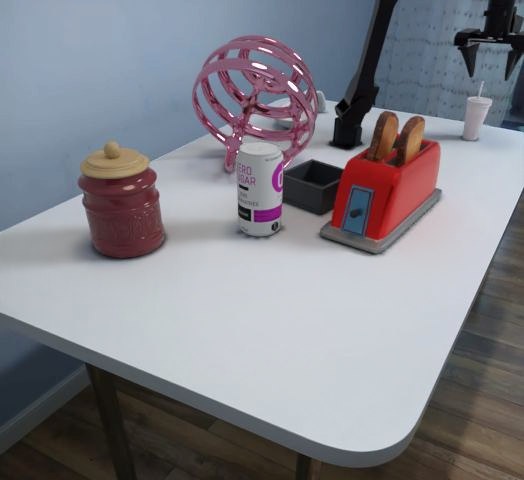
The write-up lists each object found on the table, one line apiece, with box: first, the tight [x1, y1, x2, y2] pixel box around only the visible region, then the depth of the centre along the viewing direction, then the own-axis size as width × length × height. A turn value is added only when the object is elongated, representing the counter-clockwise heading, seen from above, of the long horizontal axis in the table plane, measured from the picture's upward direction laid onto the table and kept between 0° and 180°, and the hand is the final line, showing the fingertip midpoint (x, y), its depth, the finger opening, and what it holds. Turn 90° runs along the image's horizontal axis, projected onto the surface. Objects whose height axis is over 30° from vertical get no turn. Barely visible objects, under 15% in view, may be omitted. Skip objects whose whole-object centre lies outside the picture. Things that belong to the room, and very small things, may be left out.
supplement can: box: [235, 140, 284, 237], centre depth 89 cm, size 8×8×15 cm
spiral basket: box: [191, 34, 319, 172], centre depth 109 cm, size 28×28×27 cm
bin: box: [282, 158, 344, 216], centre depth 103 cm, size 12×12×5 cm
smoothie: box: [461, 80, 493, 142], centre depth 130 cm, size 6×6×14 cm
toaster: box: [319, 110, 443, 255], centre depth 93 cm, size 32×13×19 cm, turn 144°
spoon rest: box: [274, 89, 327, 130], centre depth 143 cm, size 24×12×7 cm, turn 151°
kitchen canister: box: [77, 140, 165, 259], centre depth 84 cm, size 13×13×18 cm
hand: (488, 78), depth 123 cm, fingers open, 9 cm apart
